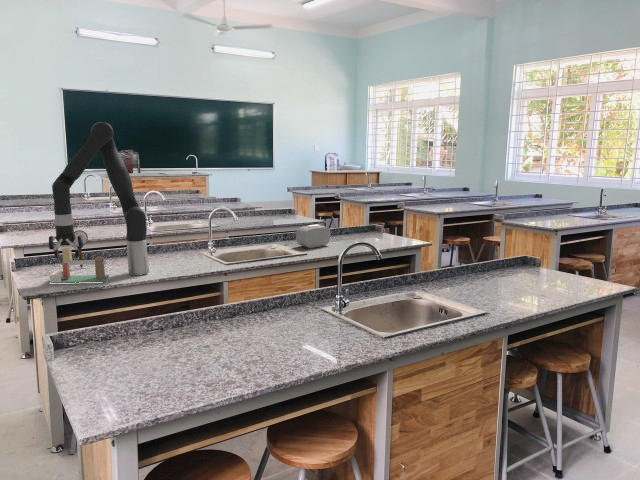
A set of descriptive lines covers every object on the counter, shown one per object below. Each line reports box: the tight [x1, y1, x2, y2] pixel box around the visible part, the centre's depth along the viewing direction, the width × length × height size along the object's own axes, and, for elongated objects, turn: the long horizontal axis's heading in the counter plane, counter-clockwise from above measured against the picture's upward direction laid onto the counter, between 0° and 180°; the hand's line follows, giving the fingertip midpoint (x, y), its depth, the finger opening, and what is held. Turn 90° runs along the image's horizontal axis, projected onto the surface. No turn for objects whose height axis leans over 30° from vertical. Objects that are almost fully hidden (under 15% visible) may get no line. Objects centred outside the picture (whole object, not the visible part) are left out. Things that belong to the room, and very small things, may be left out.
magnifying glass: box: [74, 229, 89, 269], centre depth 261 cm, size 9×2×20 cm, turn 137°
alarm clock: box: [295, 224, 332, 249], centre depth 319 cm, size 21×10×13 cm, turn 130°
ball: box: [55, 270, 64, 279], centre depth 240 cm, size 4×4×4 cm
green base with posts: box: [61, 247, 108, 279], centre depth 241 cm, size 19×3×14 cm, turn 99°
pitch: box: [49, 255, 110, 283], centre depth 241 cm, size 24×11×11 cm, turn 99°
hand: (67, 257), depth 239 cm, fingers open, 8 cm apart
